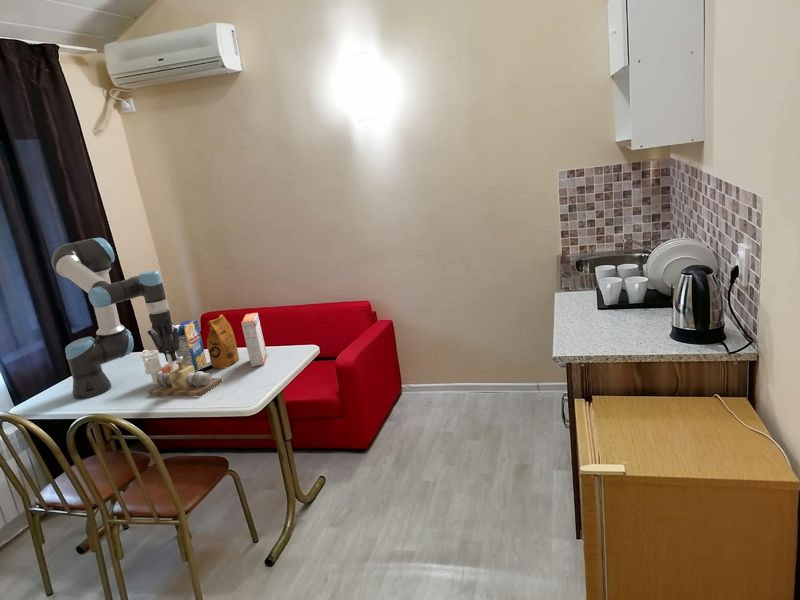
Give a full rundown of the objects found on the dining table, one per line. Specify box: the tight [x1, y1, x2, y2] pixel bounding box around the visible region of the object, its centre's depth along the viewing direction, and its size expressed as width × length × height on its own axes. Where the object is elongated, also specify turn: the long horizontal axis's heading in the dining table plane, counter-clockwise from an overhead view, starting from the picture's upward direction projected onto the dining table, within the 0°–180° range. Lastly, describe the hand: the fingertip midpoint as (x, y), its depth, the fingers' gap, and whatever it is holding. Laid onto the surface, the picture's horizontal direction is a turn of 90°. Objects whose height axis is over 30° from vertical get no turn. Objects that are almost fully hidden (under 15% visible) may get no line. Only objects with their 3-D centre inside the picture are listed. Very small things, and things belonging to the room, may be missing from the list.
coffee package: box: [206, 314, 240, 369], centre depth 268 cm, size 10×12×22 cm
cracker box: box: [240, 312, 268, 368], centre depth 264 cm, size 14×6×21 cm, turn 6°
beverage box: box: [171, 319, 208, 373], centre depth 264 cm, size 7×11×22 cm, turn 170°
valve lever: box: [160, 356, 184, 374], centre depth 236 cm, size 14×3×2 cm, turn 175°
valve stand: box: [148, 362, 223, 397], centre depth 243 cm, size 26×14×12 cm, turn 69°
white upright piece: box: [140, 349, 163, 385], centre depth 256 cm, size 7×7×15 cm
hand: (173, 369), depth 232 cm, fingers closed
